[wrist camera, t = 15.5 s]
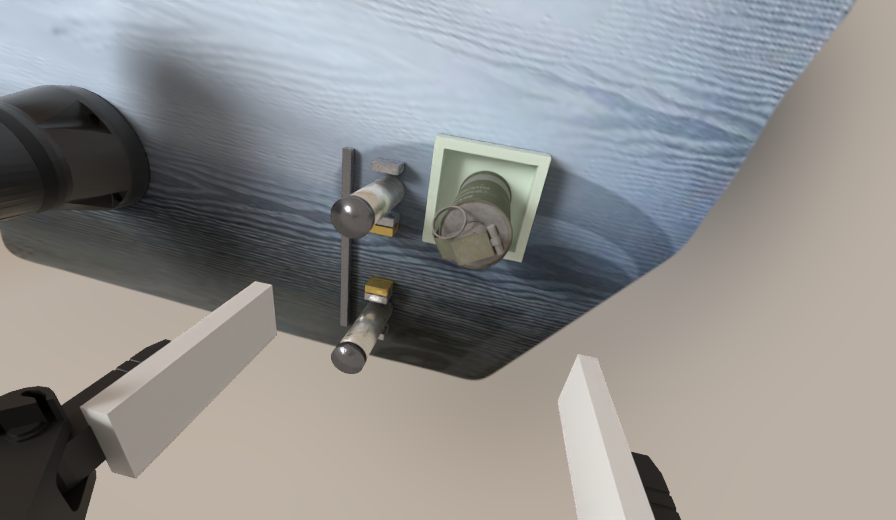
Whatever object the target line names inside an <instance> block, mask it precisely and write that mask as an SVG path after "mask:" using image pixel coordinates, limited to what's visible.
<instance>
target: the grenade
mask: <svg viewBox="0 0 896 520" xmlns="http://www.w3.org/2000/svg"><path fill="white" fill-rule="evenodd" d="M511 199H512V194H511V189H510V187H509V185H508V183H507V181H506V180H505V179H504V178H503V177H502V176H500V175H499V174H497V173H495V172H492V171H478V172H475V173H473V174H471V175H470V176H468V177H467V178H466V179H465V180H464V182H463V183H462V185H461V187H460V190H459V193H458V195H457V197H456V198H455V200H454V202H453V204H452V205H451V206H446V207H444V208H442V209H441V210H439V211H438V212H437V213H436V215H435V216H434V218H433V221H432V230H433V233H434V234H435V235H434V237H433V238H434V240H435V243H436V245H437V247H438V250H439V252H440V254H441V257H442V259H450V260H453V261H454V262H455V263H457V264H459V265H461V266H463V267H467V268H472V269H481V268H487V267H490V266H492V265H494V264H496V263H498V262H499V261H500V260H502V259H503V258H504V257H505V255H506V254H507V253H508V251H509V249H510V247H511V244H512V239H513V230H512V225H511V213H510V204H511ZM446 210H447V212H446V213H445V214H444V216H443V218H442V220H441V222H440V225H439V227H438V229H437V231H436V232H435V222H436V220H437V218H438V216H439V215H440V214H441V213H442V212H444V211H446Z"/></svg>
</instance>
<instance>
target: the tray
mask: <svg viewBox="0 0 896 520" xmlns="http://www.w3.org/2000/svg"><path fill="white" fill-rule="evenodd" d="M550 161H551V156H550V155H549V154H548V153H543V152H538V151H532V150H527V149H522V148H516V147H511V146H505V145H500V144H494V143H489V142H484V141H478V140H473V139H467V138H462V137H456V136H451V135H446V134H439V135H437V136H436V138H435V145H434V153H433V161H432V168H431V176H430V184H429V191H428V199H427V206H426V214H425V222H424V229H423V237H422V241H423V242H427V243H432V244H436V243H435V240H434V238H433V237H434V235H435V234H434V233H433V230H432V221H433V218H434V216H435V215H436V213H437V212H438V211H439V210H441V209H442V208H444V207H446V206H451V205H452V204H453V202H454V200H455V198H456V197H457V195H458V193H459V190H460V187H461V185H462V183H463V182H464V180H465V179H466V178H467V177H468V176H470V175H471V174H473V173H475V172H478V171H492V172H495V173H497V174H499V175H500V176H502V177H503V178H504V179H505V180H506V181H507V183H508V185H509V187H510V189H511V194H512V199H511V204H510V213H511V225H512V230H513V239H512V244H511V247H510V249H509V251H508V253H507V254H506V255H505V257H504V258H503V259H508V260H513V261H517V262H522V259H523V255H524V252H525V248H526V245H527V241H528V238H529V234H530V231H531V227H532V224H533V220H534V217H535V214H536V210H537V207H538V203H539V200H540V196H541V193H542V189H543V186H544V182H545V179H546V175H547V172H548V168H549V165H550ZM446 212H447V210H446V211H444V212H442V213H441V214H440V215H439V216H438V218H437V220H436V222H435V232H436V231H437V229H438V227H439V225H440V222H441V220H442V218H443V216H444V214H445V213H446Z"/></svg>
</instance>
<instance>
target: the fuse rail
mask: <svg viewBox="0 0 896 520" xmlns="http://www.w3.org/2000/svg"><path fill="white" fill-rule="evenodd" d="M354 159H355V149H353V148H348V147H345V148H343V159H342V199H340V200H338V201H337V202H336V203H335V204H334V205H333V207H332V209H331V221H332V223H333V226H334V227H335V229H336V230H337V231H338V232H339V233H340V234H342V240H341V321H340V325H342V326H346V327H347V326H348V325H349V323H350V301H351V266H352V239H358V238H361V237H363V236H365V235H366V234H367V233H368V232H372V233H377V234H381V235H386V236H391V237H392V236H393V235H394V234H395V233H396V232H397V231H398V229H399V218H400V213H397V212H393V211H391V210H392V209H393V208H394V207H395V206H396V205H397V204H398V203H399V202H400V201H401V200H402V199H403V197H404V186H403V184H402V182H401V181H400V180H399V179H398V178H397V177H395V176H392V175H385V176H382V177H380V178H379V179H377V180H375V181H373V182H372V183H370V184H368V185H366V186H365V187H363V188H361V189H360V190H358V191H356V192H354ZM404 166H405V162H400V161H395V160H390V159H384V158H377V159H375V160H373V161H372V162H371V170H372V171H378V172H383V173H388V174H393V175H399V174H400V173H402V172H404ZM393 282H394V281H392V280H387V279H383V278H378V277H374V276H372V277H371V279H370V280H369V281H368V282H367V284H366V285H365V299H366V300H370V301H369V302H368V304H367V305H366V307H365V308H364V310H363V311H362V312H361V314H360V315H359V317H358V318H357V319H356V321H355V322H354V324H353V325H352V327H351V328H350V329H349V331H348V332H347V334H346V335H345V337H344V338H343V339H342V341H341V342H340V343H339V344H338V345H337V346H336V348H335V349H334V351H333V352H332V354H331V360H332V362H333V364H334V366H335V367H336V368H337V369H339V370H340V371H342V372H344V373H349V374H355V373H358V372H360V371H361V370H362V368H363V366H364V364H365V362H366V359H367V357H368V355H369V354H370V352H371V350H372V348H373V346H374V345H375V343H376V341H377V339H380V340H384V338H385V336H386V334H387V332H388V330H389V324H388V323H387V321H388V319H389V318H390V316H391V314H392V312H393V306H392V304H391V302H390V301H389V299H390V297H391V296H392V292H393Z"/></svg>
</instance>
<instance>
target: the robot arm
mask: <svg viewBox="0 0 896 520" xmlns="http://www.w3.org/2000/svg"><path fill="white" fill-rule="evenodd" d="M148 184H149V168H148V162H147V158H146V155H145V152H144V150H143V147H142V145H141V143H140V141H139V139H138V137H137V136H136V134H135V132H134V131H133V129H132V128H131V126H130V125H129V124H128V122H127V121H126V120H125V119H124V118H123V116H122V115H121V114H120V113H119V112H118V111H117V110H116V109H115V108H114V107H113V106H111V105H110V104H109V103H108V102H107V101H105V100H104V99H102V98H101V97H99V96H98V95H96V94H94V93H92V92H90V91H88V90H86V89H83V88H80V87H76V86H62V85H43V86H37V87H34V88H30V89H27V90H23V91H20V92H16V93H13V94H9V95H6V96H3V97H0V222H2V221H6V220H11V219H15V218H19V217H23V216H27V215H31V214H36V213H40V212H44V211H49V210H102V211H106V210H115V209H119V208H122V207H126V206H130V205H133V204H135V203H137V202H138V201H140V200H141V199H142V197H143V196H144V195H145V193H146V191H147V188H148ZM276 335H277V331H276V321H275V310H274V300H273V290H272V285H270V284H265V283H261V282H256V281H255V282H254V283H252V284H251V285H250V286H248V287H247V288H245V289H244V290H243V291H241V292H240V293H238V294H237V295H236V296H234V297H233V298H231V299H230V300H229V301H227V302H226V303H224V304H223V305H222V306H220V307H219V308H217V309H216V310H215V311H213V312H212V313H210V314H209V315H208V316H206V317H205V318H203V319H202V320H201V321H199V322H198V323H196V324H195V325H194V326H192V327H191V328H190V329H188V330H187V331H185V332H184V333H183V334H181V335H180V336H178V337H177V338H175V339H174V340H173V341H170V340H166V339H165V340H163V341H160V342H158V343H156V344H153V345H151V346H149V347H146V348H145V349H143V350H142V351H140V352H139V353H138V354H136V355H135V356H133V357H132V358H130V360H129V361H126V362H124V363H123V364H121V365H120V366H118V367H117V368H116V370H115V371H114V370H113V371H111V372H110V373H108V374H107V375H105V376H104V377H102V378H101V379H99V380H98V381H96V382H95V383H93V384H92V385H91V386H89V387H88V388H86V389H85V390H83V391H82V392H80V393H79V394H77V395H76V396H75V397H73V398H72V399H70V400H69V401H67V402H66V403H64V404H63V405H60V403H59V401H58V399H57V397H56V395H55V393H54V392H53V391H52V390H51V389H50V388H47V387H40V386H37V387H28V388H23V389H20V390H16V391H12V392H9V393H7V394H5V395H2V396H0V520H85V517H86V513H87V509H88V506H89V502H90V499H91V495H92V492H93V488H94V484H95V481H96V470H95V469H96V468H97V467H98V466H99V465H100V464H101V463H102V462H104V461H105V460H106V461H107V463H108V465H109V467H110V469H111V471H112V472H114V473H118V474H121V475H125V476H128V477H132V478H137V477H138V476H139V475H140V474H141V473H142V472H143V471H144V470H145V469H146V468H147V467H148V466H149V465H150V464H151V463H152V462H153V461H154V460H155V458H157V457H158V456H159V455H160V454H161V453H162V452H163V450H164V449H165V448H166V447H167V446H168V445H169V444H170V443H171V442H172V441H173V440H174V439H175V438H176V437H177V436H178V435H179V434H180V433H181V432H182V431H183V430H184V429H185V428H186V427H187V426H188V425H189V424H190V423H191V422H192V421H193V420H194V419H195V418H196V417H197V416H198V415H199V414H200V413H201V412H202V411H203V410H204V409H205V408H206V407H207V406H208V405H209V404H210V403H211V401H213V399H215V398H216V396H218V394H219V393H220V392H221V391H222V390H223V389H224V388H225V387H226V386H227V385H228V384H229V383H230V382H231V381H232V380H233V379H234V378H235V377H236V376H237V375H238V374H239V373H240V372H241V371H242V370H243V369H244V368H245V367H246V366H247V365H248V364H249V363H250V362H251V361H252V360H253V359H254V358H255V357H256V356H257V355H258V354H259V353H260V351H262V350H263V349H264V348H265V347H266V346H267V345H268V344H269V343H270V342H271V341H272V339H274V338H275V336H276ZM558 407H559V413H560V418H561V424H562V430H563V436H564V441H565V448H566V453H567V459H568V464H569V470H570V476H571V482H572V488H573V493H574V499H575V505H576V511H577V517H578V520H681V519H680V516H679V514H678V513H677V512H676V507H675V504H674V502H673V499H672V497H671V496H670V495H669V493H670V492H669V490H668V488H667V485H666V483H665V480H664V478H663V476H662V474H661V472H660V471H659V470H658V468H657V467H656V466H655V464H654V463H653V462H652V460H651V459H650V458H649V456H647V455H642V454H638V453H634V452H631V451H630V449H629V446H628V443H627V440H626V437H625V434H624V432H623V429H622V426H621V423H620V420H619V418H618V415H617V412H616V409H615V406H614V404H613V401H612V398H611V396H610V392H609V390H608V387H607V384H606V381H605V379H604V376H603V373H602V370H601V368H600V365H599V362H598V359H597V358H594V357H590V356H585V355H581V354H578V355H577V358H576V360H575V362H574V364H573V367H572V369H571V371H570V374H569V376H568V378H567V381H566V383H565V385H564V387H563V390H562V392H561V395H560V397H559V399H558Z"/></svg>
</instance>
